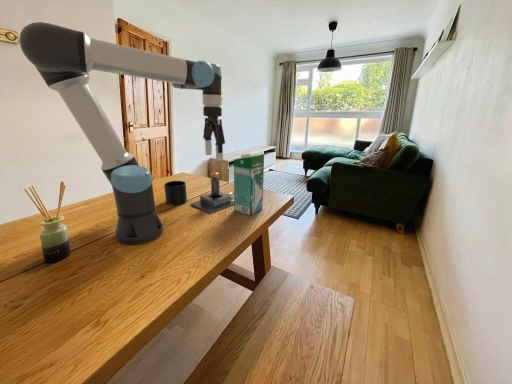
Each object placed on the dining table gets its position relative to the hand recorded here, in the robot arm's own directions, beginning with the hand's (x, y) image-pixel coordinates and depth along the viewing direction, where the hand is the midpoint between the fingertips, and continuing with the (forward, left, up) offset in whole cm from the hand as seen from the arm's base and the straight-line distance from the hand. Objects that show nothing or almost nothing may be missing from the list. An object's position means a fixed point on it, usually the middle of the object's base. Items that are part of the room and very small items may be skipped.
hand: (213, 157), depth 108 cm
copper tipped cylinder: (0, 0, -21) cm, 21 cm away
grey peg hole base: (+2, 0, -22) cm, 22 cm away
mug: (-10, +16, -22) cm, 29 cm away
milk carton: (+5, -16, -22) cm, 28 cm away
